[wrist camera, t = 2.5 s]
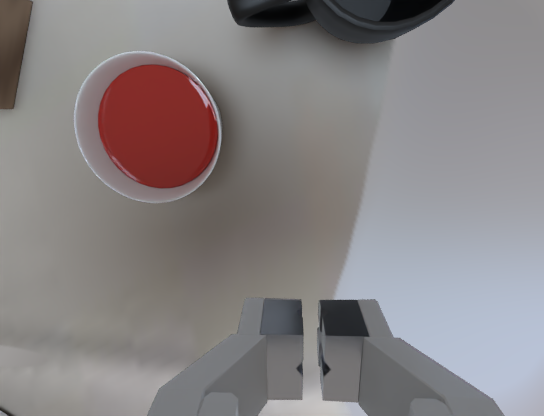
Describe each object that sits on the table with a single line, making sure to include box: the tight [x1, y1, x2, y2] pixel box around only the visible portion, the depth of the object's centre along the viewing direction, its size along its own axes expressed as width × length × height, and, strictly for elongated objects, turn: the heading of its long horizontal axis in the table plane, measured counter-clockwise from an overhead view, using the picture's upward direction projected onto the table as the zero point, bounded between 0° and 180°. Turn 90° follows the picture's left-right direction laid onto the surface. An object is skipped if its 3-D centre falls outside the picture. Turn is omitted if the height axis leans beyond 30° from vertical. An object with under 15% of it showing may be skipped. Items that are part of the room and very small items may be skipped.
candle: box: [74, 51, 222, 203], centre depth 24 cm, size 9×9×6 cm
